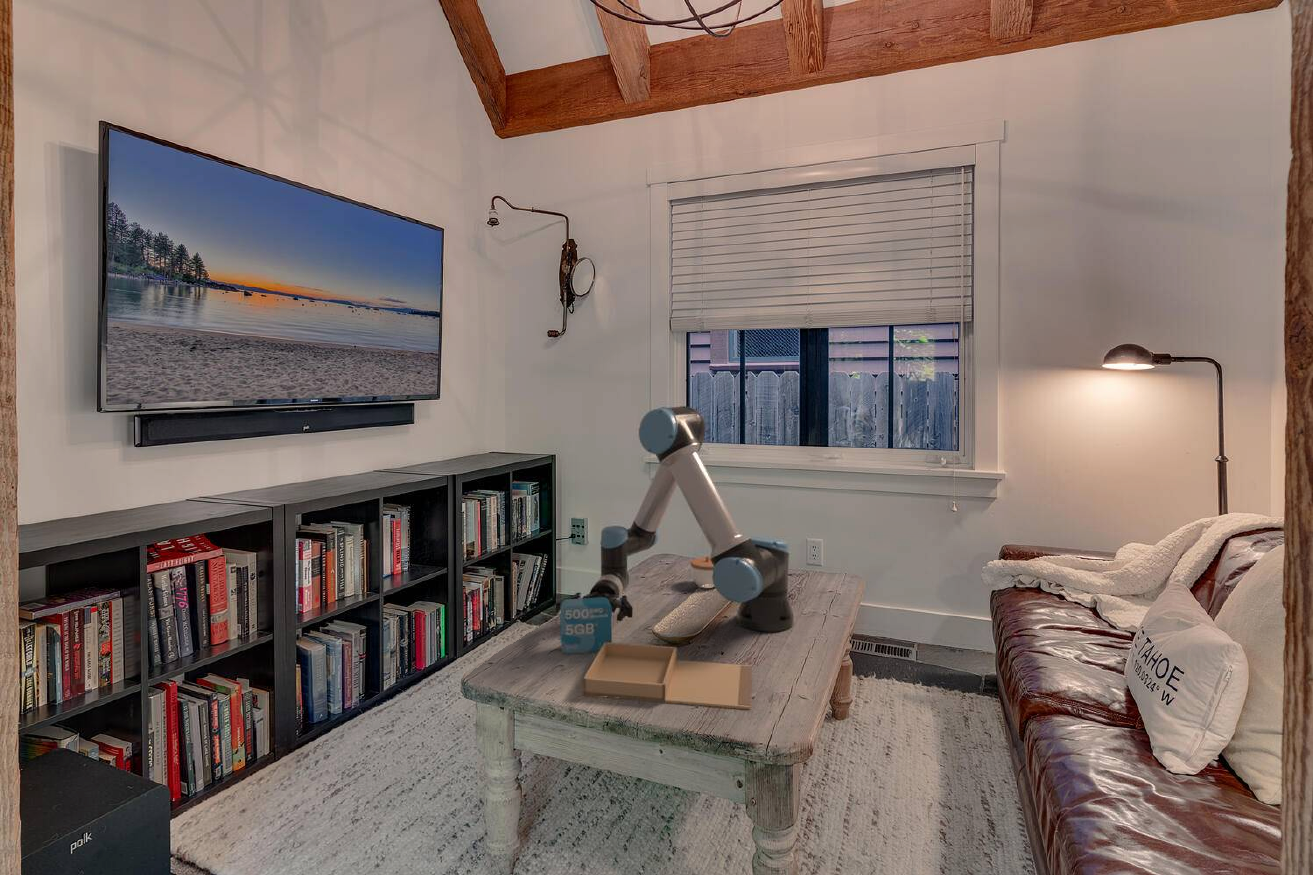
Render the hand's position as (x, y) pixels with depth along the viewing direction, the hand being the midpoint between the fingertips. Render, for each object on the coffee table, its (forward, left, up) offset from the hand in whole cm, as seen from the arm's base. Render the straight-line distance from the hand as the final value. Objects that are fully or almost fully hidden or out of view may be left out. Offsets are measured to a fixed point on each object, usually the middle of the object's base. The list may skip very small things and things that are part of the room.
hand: (585, 621), depth 160 cm
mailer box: (-23, +13, -7) cm, 27 cm away
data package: (0, -1, -7) cm, 7 cm away
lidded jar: (-25, -54, -7) cm, 60 cm away
